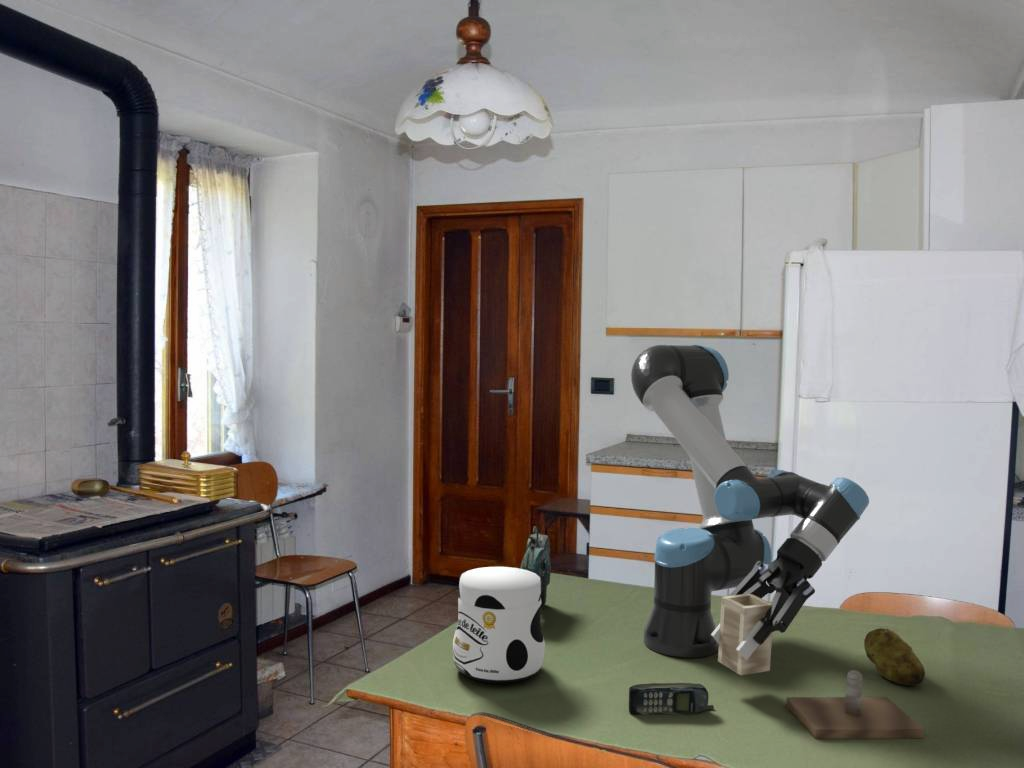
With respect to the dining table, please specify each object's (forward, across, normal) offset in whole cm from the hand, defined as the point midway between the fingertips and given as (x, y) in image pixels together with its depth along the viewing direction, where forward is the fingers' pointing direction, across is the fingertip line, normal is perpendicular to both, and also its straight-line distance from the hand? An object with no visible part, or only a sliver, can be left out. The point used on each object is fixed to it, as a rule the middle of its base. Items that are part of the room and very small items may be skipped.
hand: (728, 646), depth 151 cm
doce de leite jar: (+31, +24, +17) cm, 43 cm away
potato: (-19, -4, -32) cm, 37 cm away
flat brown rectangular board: (-4, -16, -16) cm, 23 cm away
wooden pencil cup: (0, 0, -5) cm, 5 cm away
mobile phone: (+16, -2, +2) cm, 16 cm away
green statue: (+17, +51, +3) cm, 54 cm away
